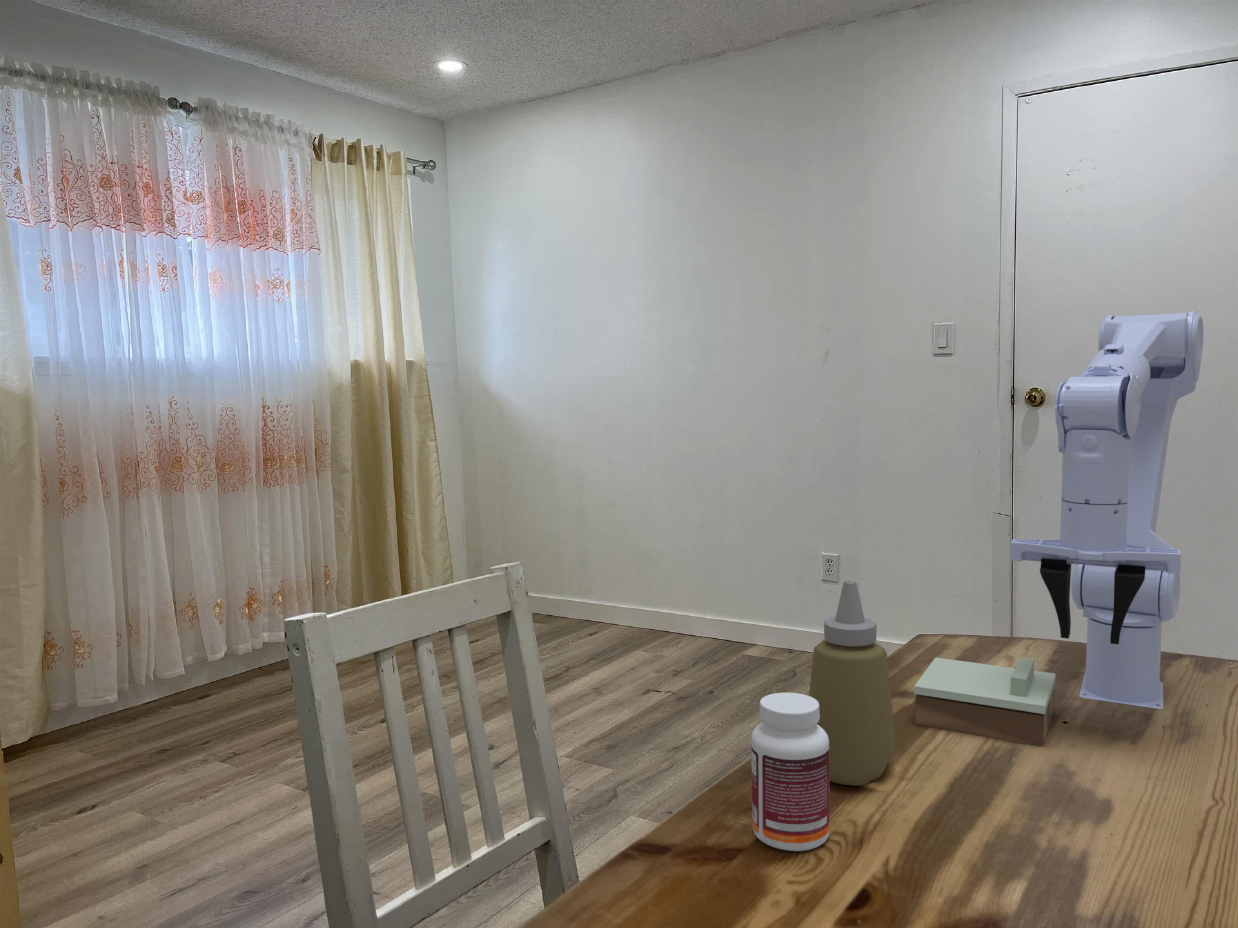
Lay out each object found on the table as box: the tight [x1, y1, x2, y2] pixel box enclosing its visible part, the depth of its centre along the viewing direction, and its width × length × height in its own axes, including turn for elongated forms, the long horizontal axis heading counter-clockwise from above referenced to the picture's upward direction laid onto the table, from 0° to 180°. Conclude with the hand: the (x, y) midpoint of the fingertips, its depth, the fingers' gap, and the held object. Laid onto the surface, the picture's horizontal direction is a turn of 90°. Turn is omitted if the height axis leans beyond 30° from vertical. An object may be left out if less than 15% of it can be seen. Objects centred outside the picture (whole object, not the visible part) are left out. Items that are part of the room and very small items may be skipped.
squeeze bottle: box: [808, 581, 896, 786], centre depth 83 cm, size 8×8×18 cm
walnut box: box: [914, 686, 1055, 747], centre depth 95 cm, size 10×12×4 cm
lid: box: [913, 657, 1057, 714], centre depth 94 cm, size 10×12×3 cm
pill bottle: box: [750, 692, 831, 852], centre depth 73 cm, size 6×6×11 cm
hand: (1089, 638), depth 89 cm, fingers open, 4 cm apart
